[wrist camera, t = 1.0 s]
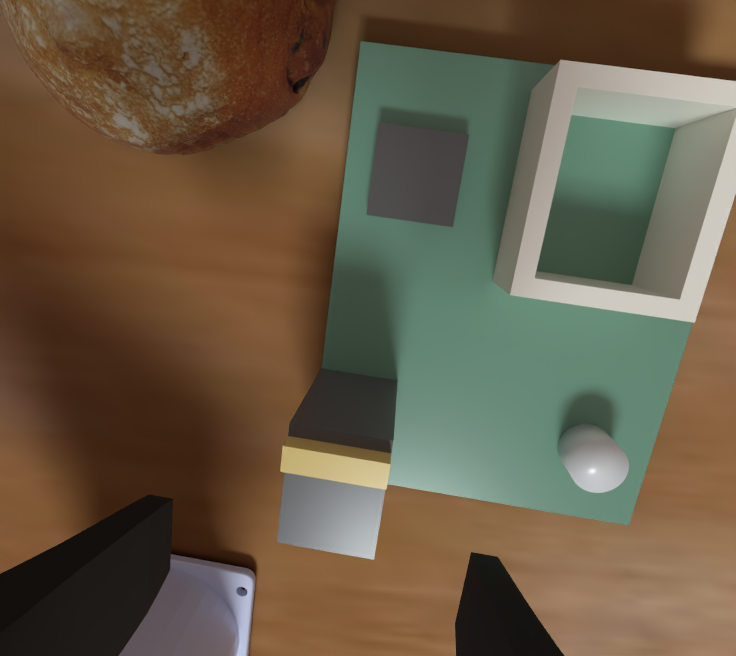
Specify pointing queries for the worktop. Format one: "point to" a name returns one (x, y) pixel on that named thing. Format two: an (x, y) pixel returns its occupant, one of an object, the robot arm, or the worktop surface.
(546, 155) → the white rectangular frame
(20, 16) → the bread roll
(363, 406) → the plug
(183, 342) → the worktop surface
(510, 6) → the worktop surface
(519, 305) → the board
